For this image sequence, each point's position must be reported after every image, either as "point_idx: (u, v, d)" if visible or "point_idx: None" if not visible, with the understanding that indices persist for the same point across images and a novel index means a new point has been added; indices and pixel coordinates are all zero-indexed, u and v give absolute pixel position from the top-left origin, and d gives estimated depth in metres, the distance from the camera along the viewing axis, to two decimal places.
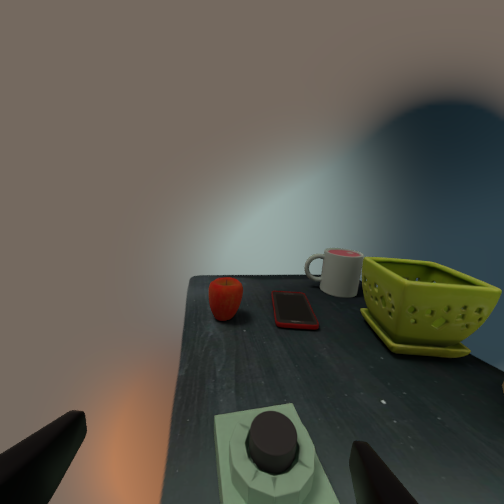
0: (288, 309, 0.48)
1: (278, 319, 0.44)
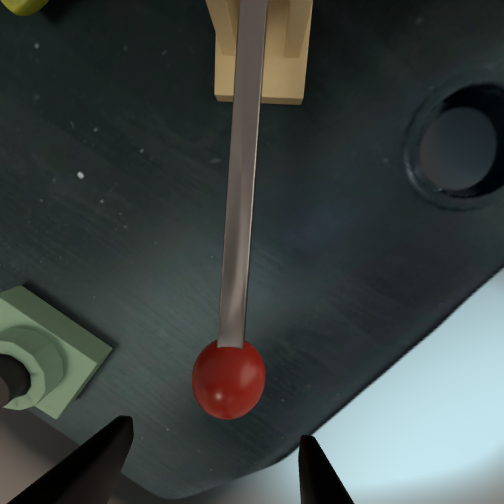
0: None
1: None
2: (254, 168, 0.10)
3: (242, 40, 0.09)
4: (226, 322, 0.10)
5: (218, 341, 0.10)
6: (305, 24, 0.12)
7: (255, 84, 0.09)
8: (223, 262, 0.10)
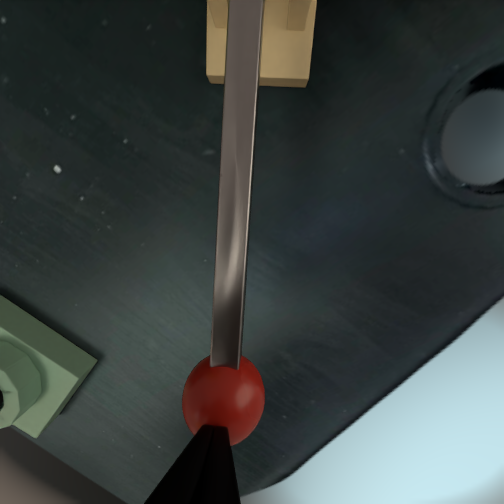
0: None
1: None
2: (251, 160, 0.08)
3: None
4: (220, 339, 0.09)
5: (211, 360, 0.09)
6: None
7: (252, 54, 0.08)
8: (215, 271, 0.09)
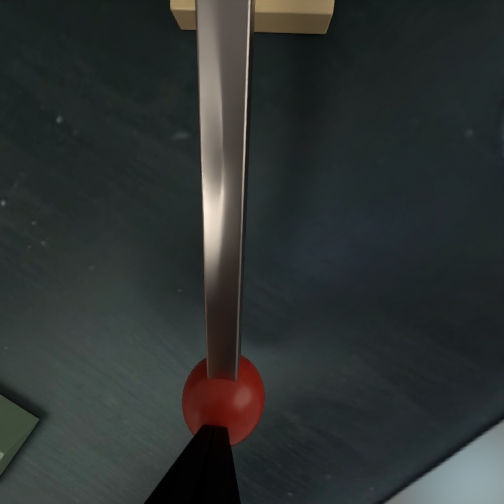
0: None
1: None
2: (243, 154, 0.06)
3: None
4: (215, 356, 0.08)
5: (208, 373, 0.08)
6: None
7: None
8: (205, 292, 0.07)
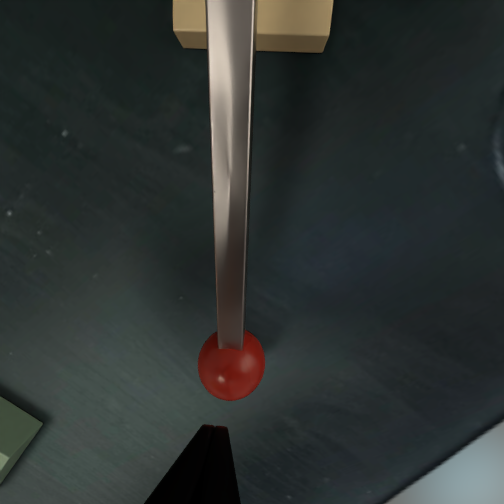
0: None
1: None
2: (247, 174, 0.07)
3: None
4: (225, 331, 0.10)
5: (218, 344, 0.10)
6: None
7: (243, 25, 0.05)
8: (216, 281, 0.09)
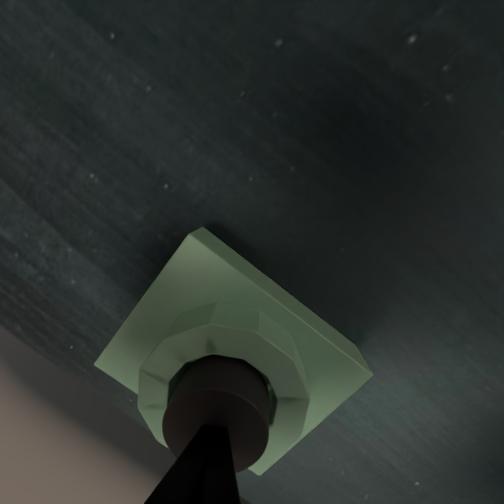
0: None
1: None
2: None
3: None
4: None
5: None
6: None
7: None
8: None
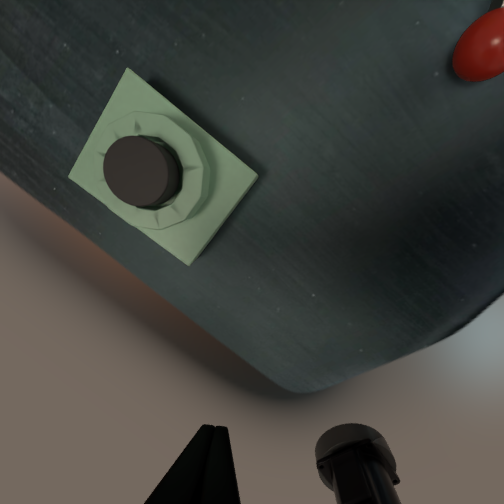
0: None
1: None
2: None
3: None
4: None
5: None
6: None
7: None
8: None
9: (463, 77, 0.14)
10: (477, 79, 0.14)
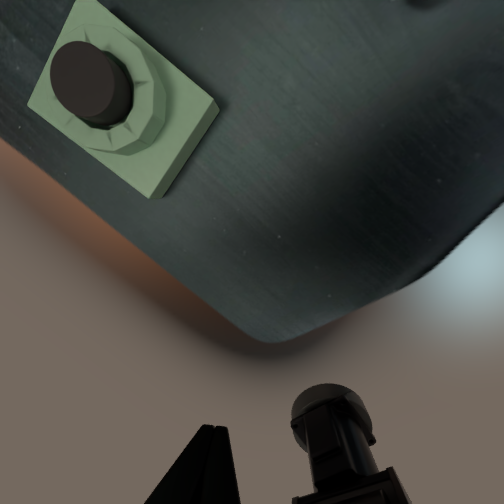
0: None
1: None
2: None
3: None
4: None
5: None
6: None
7: None
8: None
9: None
10: None
